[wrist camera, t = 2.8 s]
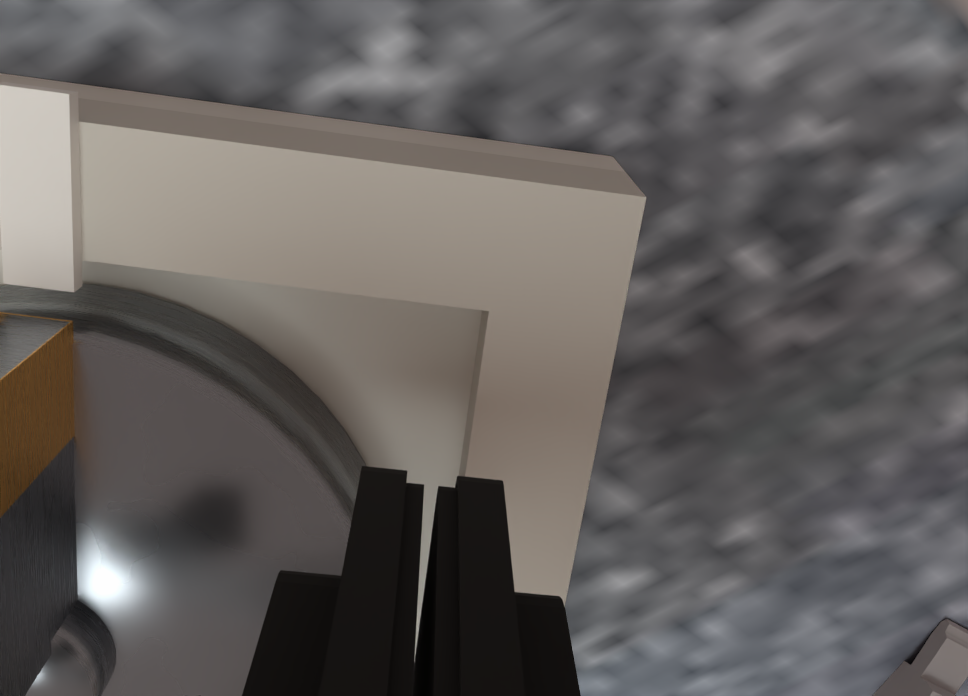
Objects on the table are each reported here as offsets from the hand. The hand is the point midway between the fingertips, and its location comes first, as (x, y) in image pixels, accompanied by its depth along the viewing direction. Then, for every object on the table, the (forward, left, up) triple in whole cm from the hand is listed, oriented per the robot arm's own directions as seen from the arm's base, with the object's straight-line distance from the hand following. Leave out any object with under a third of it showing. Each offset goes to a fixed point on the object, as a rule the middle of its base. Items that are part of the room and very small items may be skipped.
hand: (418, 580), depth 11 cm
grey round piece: (+6, +4, -6) cm, 9 cm away
